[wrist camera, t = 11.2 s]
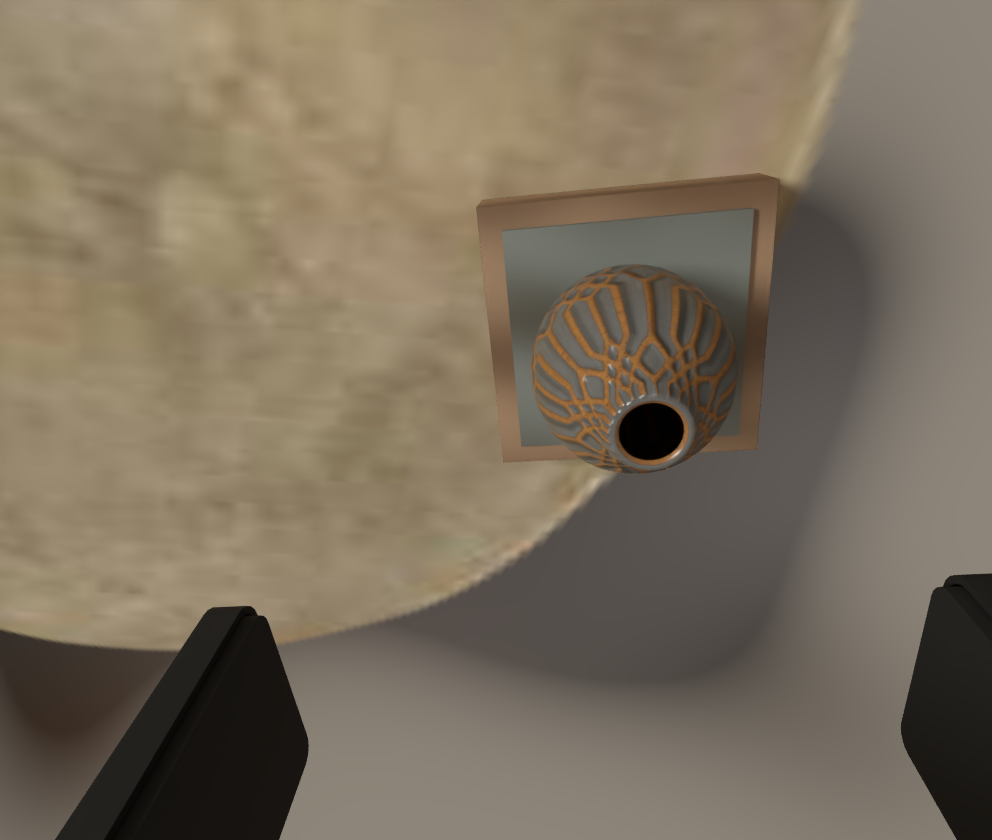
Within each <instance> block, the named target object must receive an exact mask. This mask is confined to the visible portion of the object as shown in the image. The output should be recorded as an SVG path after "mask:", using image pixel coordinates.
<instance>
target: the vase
mask: <svg viewBox="0 0 992 840" xmlns="http://www.w3.org/2000/svg"><path fill="white" fill-rule="evenodd" d="M737 372H738V369H737V355H736V349H735V344H734V341H733V338H732V334H731V331H730V329H729V327H728V324H727V322H726V320H725V319H724V317H723V315H722V314H721V312H720V311H719V309H718V308H717V307H716V305H715V304H714V303H713V301H712V300H711V299H710V298H709V297H708V296H707V295H706V294H705V293H704V292H703V291H701V290H700V289H699V288H698V287H697V286H696V285H694V284H693V283H692V282H690V281H688V280H687V279H685V278H683V277H682V276H680V275H678V274H676V273H674V272H671V271H669V270H666V269H663V268H660V267H656V266H650V265H642V264H626V265H617V266H612V267H608V268H604V269H601V270H598V271H596V272H593V273H591V274H589V275H587V276H585V277H583V278H581V279H580V280H578V281H577V282H575V283H574V284H573V285H571V286H570V287H569V288H568V289H566V290H565V291H564V292H563V293H562V294H561V295H560V296H559V297H558V298H557V299H556V300H555V302H554V303H553V304H552V305H551V307H550V308H549V310H548V311H547V313H546V314H545V316H544V318H543V320H542V322H541V324H540V327H539V329H538V332H537V335H536V338H535V342H534V346H533V352H532V360H531V378H532V387H533V392H534V396H535V399H536V402H537V405H538V408H539V410H540V412H541V414H542V416H543V418H544V420H545V422H546V423H547V425H548V427H549V428H550V430H551V431H552V432H553V433H554V435H555V436H556V437H557V438H558V440H559V441H560V442H561V443H562V444H563V445H564V446H565V447H566V448H568V449H569V450H570V451H571V452H572V453H574V454H575V455H576V456H578V457H579V458H581V459H582V460H584V461H586V462H588V463H590V464H592V465H594V466H596V467H599V468H601V469H604V470H608V471H612V472H617V473H624V474H645V473H653V472H658V471H661V470H665V469H668V468H671V467H673V466H676V465H678V464H680V463H682V462H684V461H686V460H688V459H689V458H691V457H692V456H693V455H695V454H696V453H698V452H699V451H700V450H702V449H703V448H704V447H705V446H706V445H707V444H708V443H709V442H710V441H711V440H712V439H713V438H714V436H715V435H716V434H717V433H718V431H719V430H720V428H721V426H722V425H723V423H724V421H725V420H726V418H727V416H728V414H729V411H730V409H731V406H732V403H733V399H734V395H735V391H736V385H737Z"/></svg>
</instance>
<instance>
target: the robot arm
mask: <svg viewBox="0 0 992 840" xmlns="http://www.w3.org/2000/svg"><path fill="white" fill-rule="evenodd" d="M901 735H902V739H903V743H904V746H905V748H906V751H907V753H908V755H909V757H910V758H911V760H912V762H913V764H914V765H915V767H916V769H917V771H918V772H919V774H920V776H921V778H922V780H923V781H924V783H925V785H926V786H927V788H928V790H929V792H930V794H931V795H932V797H933V799H934V801H935V802H936V804H937V806H938V808H939V809H940V811H941V813H942V814H943V816H944V818H945V820H946V821H947V823H948V825H949V827H950V829H951V830H952V832H953V834H954V836H955V837H956V839H957V840H992V574H971V575H953V576H950V577H948V578H947V579H946V580H945V583H944V585H943V587H937V588H936V589H935V590H933V593H932V595H931V600H930V604H929V608H928V612H927V617H926V621H925V625H924V629H923V634H922V638H921V642H920V647H919V650H918V655H917V659H916V663H915V667H914V671H913V676H912V680H911V684H910V688H909V693H908V697H907V701H906V705H905V709H904V714H903V718H902V722H901ZM308 747H309V745H308V737H307V734H306V731H305V728H304V725H303V722H302V719H301V716H300V713H299V710H298V707H297V705H296V702H295V699H294V696H293V693H292V690H291V687H290V684H289V682H288V678H287V675H286V673H285V670H284V667H283V664H282V661H281V658H280V655H279V652H278V649H277V646H276V643H275V641H274V638H273V635H272V632H271V629H270V626H269V623H268V621H267V619H266V618H265V617H264V616H258V615H257V613H256V611H255V609H254V608H252V607H251V606H237V607H214V608H211V609H209V610H208V611H207V612H206V613H205V614H204V615H203V617H202V618H201V620H200V621H199V623H198V624H197V626H196V627H195V629H194V630H193V632H192V633H191V635H190V636H189V638H188V639H187V641H186V643H185V644H184V646H183V647H182V649H181V650H180V652H179V653H178V655H177V656H176V658H175V659H174V661H173V662H172V664H171V665H170V667H169V668H168V670H167V671H166V673H165V674H164V676H163V677H162V679H161V680H160V682H159V683H158V685H157V686H156V688H155V689H154V691H153V693H152V694H151V695H150V697H149V698H148V700H147V702H146V703H145V705H144V706H143V708H142V709H141V711H140V712H139V714H138V715H137V717H136V718H135V720H134V721H133V723H132V724H131V726H130V727H129V729H128V730H127V732H126V733H125V735H124V737H123V738H122V739H121V741H120V742H119V744H118V745H117V747H116V748H115V750H114V752H113V753H112V754H111V756H110V757H109V759H108V761H107V762H106V763H105V765H104V767H103V768H102V770H101V771H100V773H99V774H98V776H97V777H96V779H95V780H94V782H93V783H92V785H91V786H90V788H89V789H88V791H87V792H86V794H85V795H84V797H83V798H82V800H81V802H80V803H79V804H78V806H77V807H76V809H75V811H74V812H73V813H72V815H71V816H70V818H69V819H68V821H67V822H66V824H65V825H64V827H63V829H62V830H61V831H60V833H59V835H58V836H57V838H56V839H55V840H279V838H280V835H281V832H282V830H283V827H284V824H285V821H286V819H287V816H288V813H289V810H290V807H291V804H292V802H293V799H294V796H295V793H296V790H297V788H298V785H299V782H300V779H301V776H302V774H303V771H304V768H305V765H306V761H307V757H308Z"/></svg>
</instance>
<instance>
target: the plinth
mask: <svg viewBox="0 0 992 840" xmlns="http://www.w3.org/2000/svg"><path fill="white" fill-rule="evenodd" d="M778 190H779V179H777V178H774V177H770V176H766V175H763V174H759V173H758V174H747V175H737V176H726V177H716V178H706V179H695V180H685V181H674V182H664V183H653V184H643V185H633V186H622V187H612V188H601V189H591V190H580V191H570V192H559V193H549V194H539V195H528V196H518V197H507V198H497V199H486V200H482V201H481V202H480V203H479V205H478V206H477V207H476V211H477V220H478V229H479V239H480V248H481V257H482V267H483V276H484V286H485V295H486V304H487V314H488V323H489V332H490V342H491V351H492V360H493V370H494V379H495V389H496V398H497V407H498V417H499V426H500V435H501V445H502V454H503V463H504V462H523V461H543V460H562V459H581V458H579V457H578V456H576V455H575V454H574V453H572V452H571V451H570V450H569V449H568V448H566V447H565V446H564V445H563V444H562V443H561V442H560V441H559V440H558V438H557V437H556V436H555V435H554V433H553V432H552V431H551V430H550V428H549V427H548V425H547V423H546V422H545V420H544V418H543V416H542V414H541V412H540V410H539V408H538V405H537V402H536V399H535V396H534V392H533V387H532V378H531V360H532V352H533V346H534V342H535V338H536V335H537V332H538V329H539V327H540V324H541V322H542V320H543V318H544V316H545V314H546V313H547V311H548V310H549V308H550V307H551V305H552V304H553V303H554V302H555V300H556V299H557V298H558V297H559V296H560V295H561V294H562V293H563V292H564V291H565V290H566V289H568V288H569V287H570V286H571V285H573V284H574V283H575V282H577V281H578V280H580V279H581V278H583V277H585V276H587V275H589V274H591V273H593V272H596V271H598V270H601V269H604V268H608V267H612V266H617V265H626V264H642V265H650V266H656V267H660V268H663V269H666V270H669V271H671V272H674V273H676V274H678V275H680V276H682V277H683V278H685V279H687V280H688V281H690V282H692V283H693V284H694V285H696V286H697V287H698V288H699V289H700V290H701V291H703V292H704V293H705V294H706V295H707V296H708V297H709V298H710V299H711V300H712V301H713V303H714V304H715V305H716V307H717V308H718V309H719V311H720V312H721V314H722V315H723V317H724V319H725V320H726V322H727V324H728V327H729V329H730V331H731V334H732V338H733V341H734V344H735V349H736V355H737V369H738V372H737V385H736V391H735V395H734V399H733V403H732V406H731V409H730V411H729V414H728V416H727V418H726V420H725V421H724V423H723V425H722V426H721V428H720V430H719V431H718V433H717V434H716V435H715V436H714V438H713V439H712V440H711V441H710V442H709V443H708V444H707V445H706V446H705V447H704V448H703V449H702V450H700V451H699V452H718V451H737V450H756V449H757V442H758V430H759V418H760V406H761V394H762V381H763V370H764V358H765V346H766V334H767V322H768V308H769V297H770V286H771V285H770V284H771V273H772V262H773V250H774V238H775V226H776V214H777V202H778ZM699 452H698V453H699Z"/></svg>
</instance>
